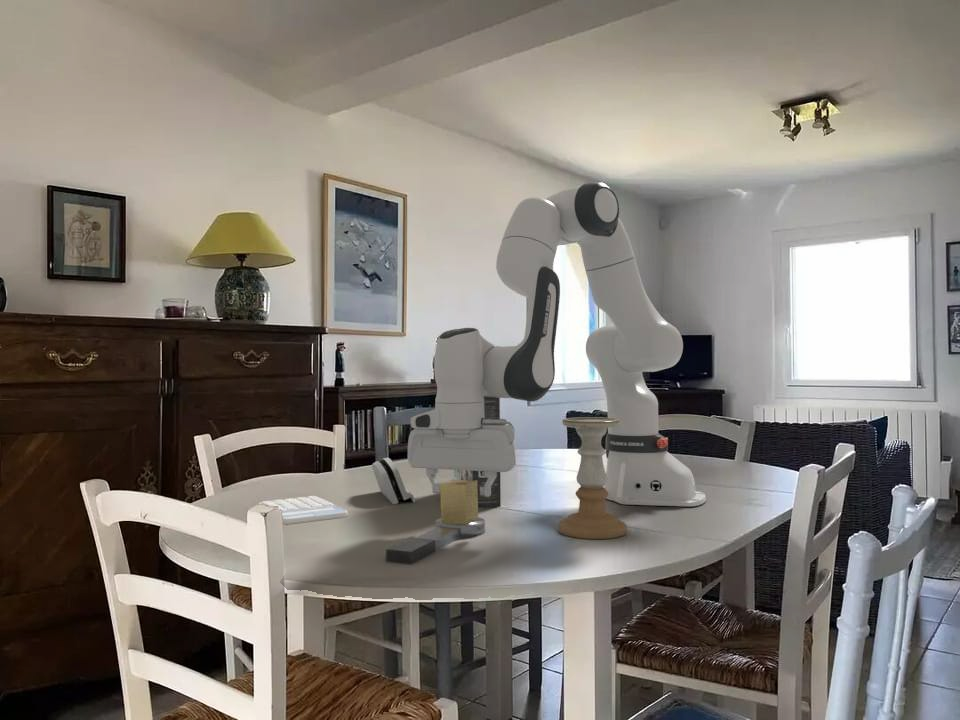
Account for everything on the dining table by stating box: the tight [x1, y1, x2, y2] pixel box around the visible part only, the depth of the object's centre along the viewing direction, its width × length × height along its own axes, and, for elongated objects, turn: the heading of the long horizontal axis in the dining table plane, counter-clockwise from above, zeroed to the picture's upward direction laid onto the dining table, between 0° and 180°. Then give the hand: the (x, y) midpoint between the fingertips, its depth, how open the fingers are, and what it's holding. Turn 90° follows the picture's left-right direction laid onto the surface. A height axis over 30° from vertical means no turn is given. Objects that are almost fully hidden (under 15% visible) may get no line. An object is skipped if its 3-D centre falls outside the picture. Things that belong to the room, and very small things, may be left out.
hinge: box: [371, 457, 416, 505], centre depth 167 cm, size 17×5×10 cm, turn 17°
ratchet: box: [385, 516, 486, 565], centre depth 124 cm, size 26×9×5 cm, turn 156°
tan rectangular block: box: [440, 479, 479, 525], centre depth 132 cm, size 5×5×7 cm
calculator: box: [257, 495, 349, 525], centre depth 151 cm, size 13×20×2 cm, turn 31°
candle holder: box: [557, 416, 628, 540], centre depth 132 cm, size 12×12×20 cm
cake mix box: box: [451, 396, 502, 509], centre depth 165 cm, size 22×6×30 cm, turn 14°
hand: (461, 494), depth 132 cm, fingers open, 8 cm apart
